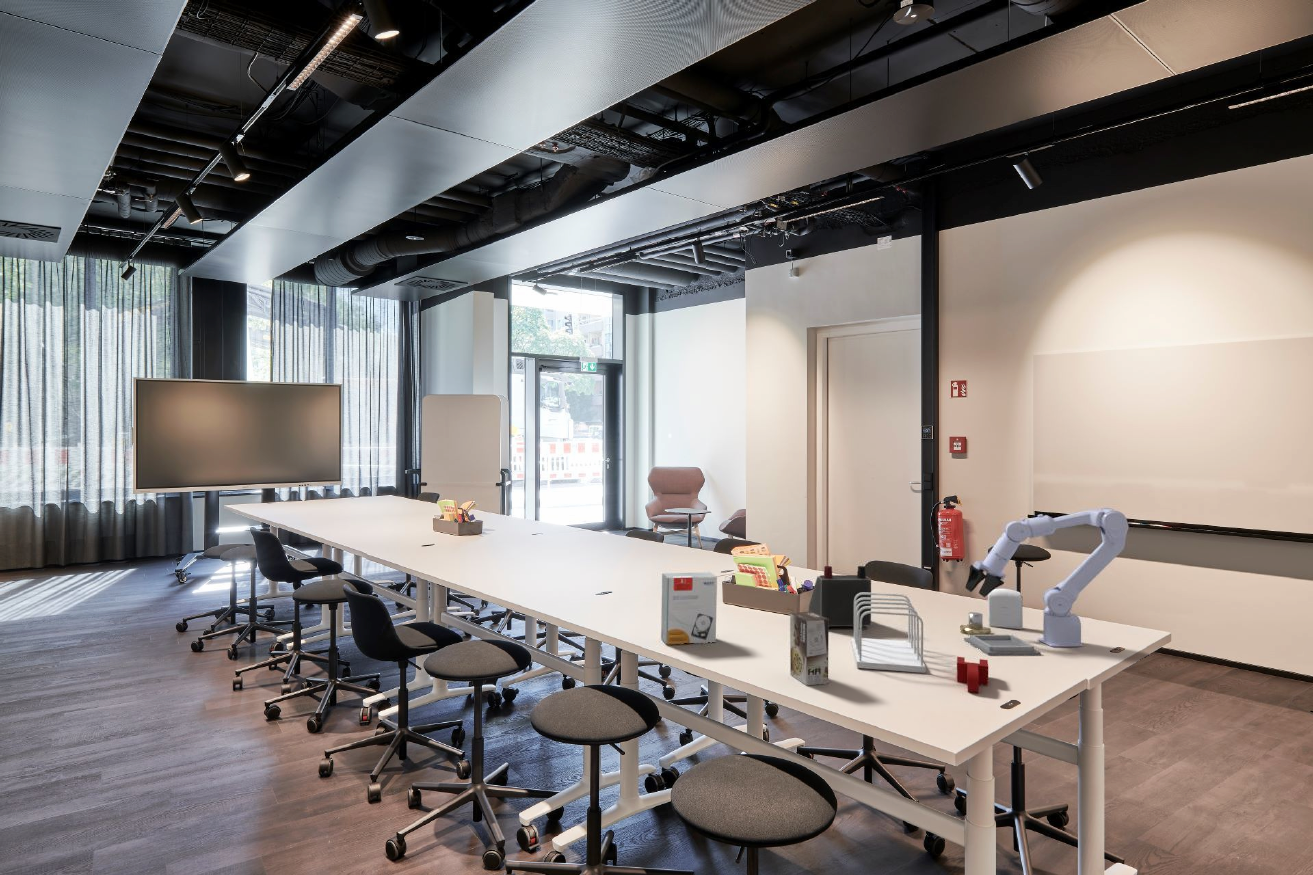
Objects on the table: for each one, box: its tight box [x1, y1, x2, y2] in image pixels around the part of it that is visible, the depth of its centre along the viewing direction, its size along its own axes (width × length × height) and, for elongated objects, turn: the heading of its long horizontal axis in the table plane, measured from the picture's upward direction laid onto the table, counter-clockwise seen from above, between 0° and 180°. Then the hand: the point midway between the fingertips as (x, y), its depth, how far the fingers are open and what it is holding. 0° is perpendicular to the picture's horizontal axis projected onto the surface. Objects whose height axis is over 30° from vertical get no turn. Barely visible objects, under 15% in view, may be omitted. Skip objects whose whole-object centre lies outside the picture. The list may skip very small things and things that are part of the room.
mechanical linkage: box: [956, 656, 989, 694], centre depth 180 cm, size 16×7×5 cm, turn 158°
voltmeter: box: [808, 565, 872, 630], centre depth 239 cm, size 16×16×20 cm
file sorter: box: [850, 592, 927, 674], centre depth 202 cm, size 25×17×16 cm
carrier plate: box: [963, 634, 1042, 656], centre depth 212 cm, size 15×15×2 cm
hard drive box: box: [660, 571, 718, 645], centre depth 218 cm, size 16×8×20 cm, turn 102°
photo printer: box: [987, 588, 1024, 630], centre depth 235 cm, size 10×4×12 cm, turn 63°
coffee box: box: [789, 610, 830, 686], centre depth 183 cm, size 9×6×16 cm
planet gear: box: [959, 611, 992, 636], centre depth 228 cm, size 9×9×6 cm
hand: (974, 592), depth 224 cm, fingers open, 7 cm apart
